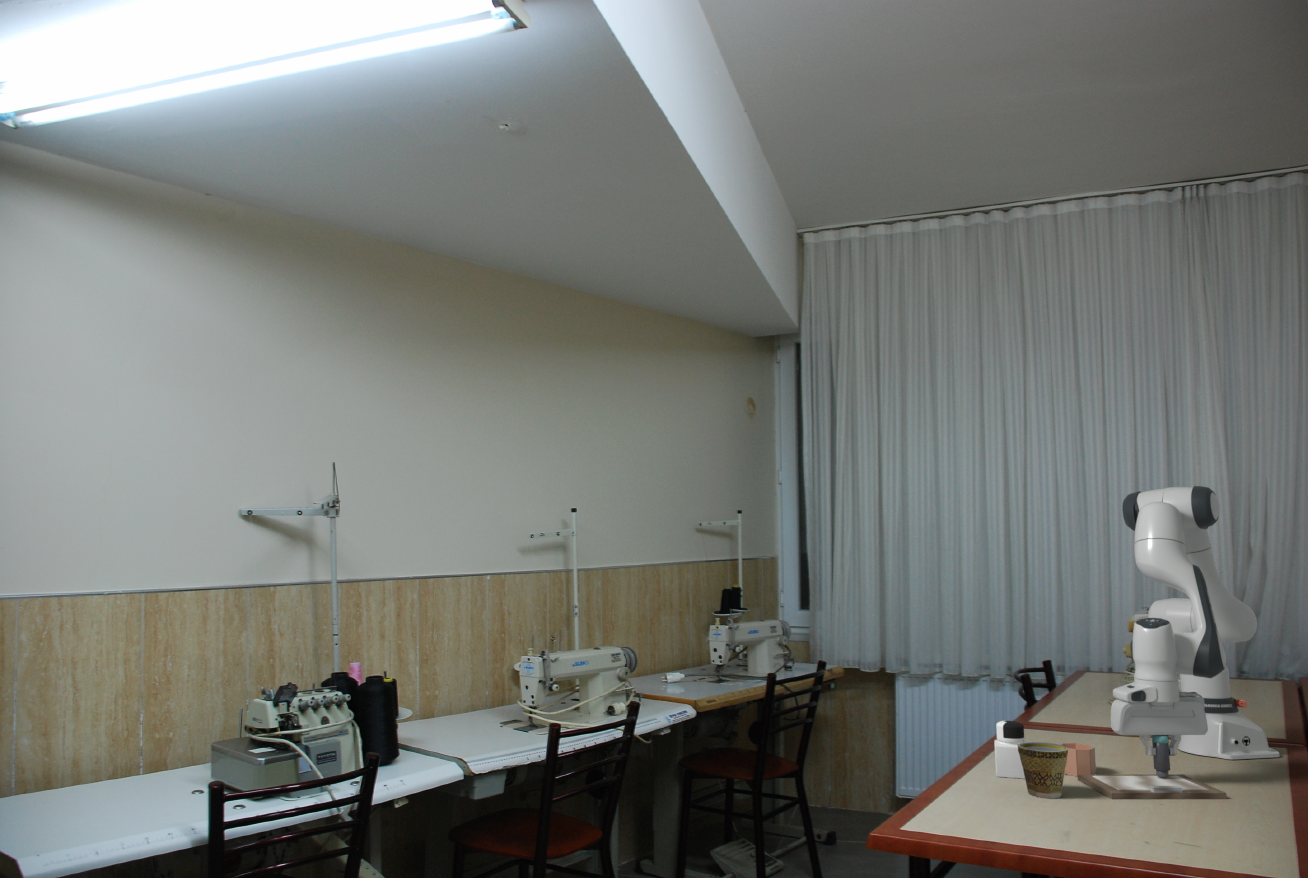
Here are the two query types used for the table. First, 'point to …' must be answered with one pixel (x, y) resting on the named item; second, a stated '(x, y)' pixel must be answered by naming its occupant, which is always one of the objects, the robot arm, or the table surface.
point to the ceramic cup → (1043, 768)
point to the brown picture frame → (1151, 787)
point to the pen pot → (1080, 759)
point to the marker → (1161, 755)
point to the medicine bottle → (1008, 749)
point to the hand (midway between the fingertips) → (1161, 755)
